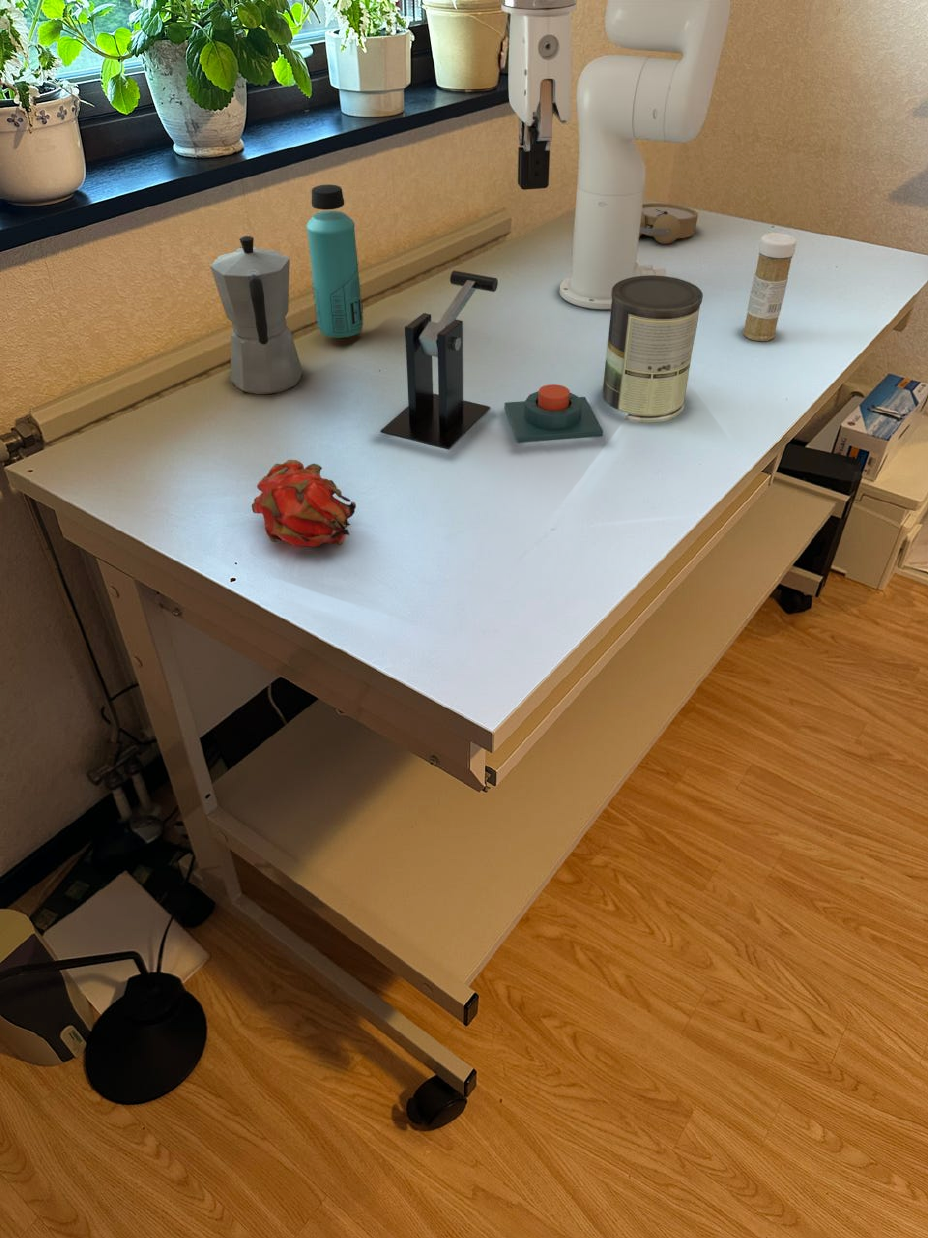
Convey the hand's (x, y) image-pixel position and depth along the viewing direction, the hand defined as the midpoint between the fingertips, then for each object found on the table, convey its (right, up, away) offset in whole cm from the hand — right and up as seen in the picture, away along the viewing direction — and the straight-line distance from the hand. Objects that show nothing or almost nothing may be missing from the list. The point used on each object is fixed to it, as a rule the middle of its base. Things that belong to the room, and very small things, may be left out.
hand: (533, 186), depth 105 cm
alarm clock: (+26, +19, +59) cm, 67 cm away
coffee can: (+14, -22, +11) cm, 29 cm away
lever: (-9, -14, +3) cm, 17 cm away
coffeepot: (-33, -18, +16) cm, 41 cm away
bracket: (-11, -26, +7) cm, 29 cm away
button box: (+3, -26, +6) cm, 27 cm away
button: (+3, -24, +4) cm, 24 cm away
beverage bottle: (-25, -10, +26) cm, 37 cm away
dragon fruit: (-23, -41, -10) cm, 48 cm away
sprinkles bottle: (+34, -9, +26) cm, 44 cm away
